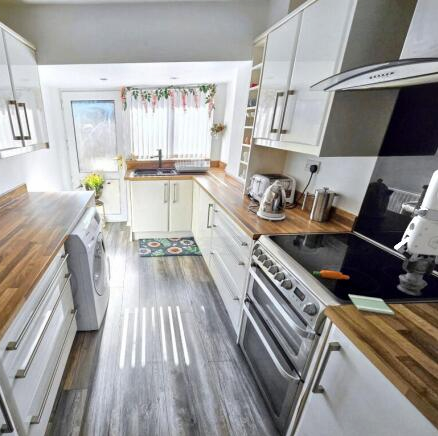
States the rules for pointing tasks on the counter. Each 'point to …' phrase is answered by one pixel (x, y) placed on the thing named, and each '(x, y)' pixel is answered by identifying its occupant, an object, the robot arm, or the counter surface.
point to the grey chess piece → (414, 278)
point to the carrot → (331, 274)
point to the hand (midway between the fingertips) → (416, 271)
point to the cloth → (371, 304)
